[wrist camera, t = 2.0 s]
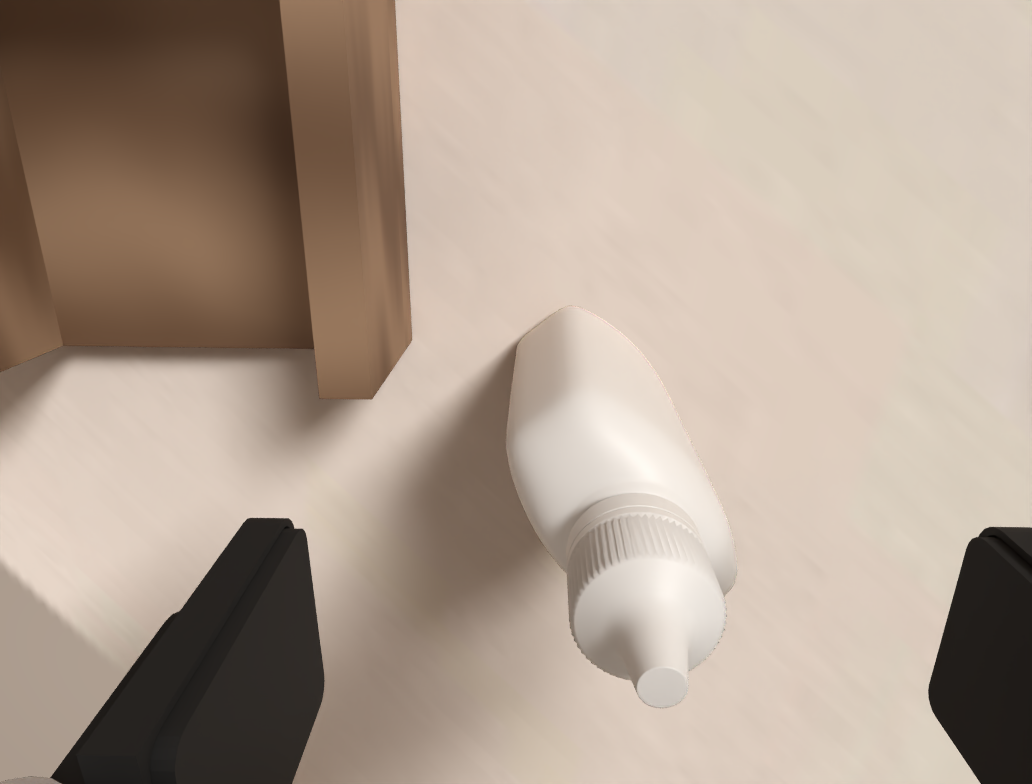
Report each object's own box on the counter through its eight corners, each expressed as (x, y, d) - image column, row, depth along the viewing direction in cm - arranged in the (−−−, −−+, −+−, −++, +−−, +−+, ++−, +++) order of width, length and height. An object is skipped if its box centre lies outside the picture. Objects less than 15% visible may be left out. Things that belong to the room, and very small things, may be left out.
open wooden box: (411, 339, 20) (371, 399, 16) (46, 336, 21) (-101, 392, 16) (389, -105, 17) (328, -201, 12) (-56, -99, 17) (-283, -190, 12)
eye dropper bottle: (540, 484, 22) (535, 850, 11) (510, 310, 20) (464, 527, 9) (681, 465, 21) (832, 825, 10) (663, 286, 20) (824, 481, 8)
